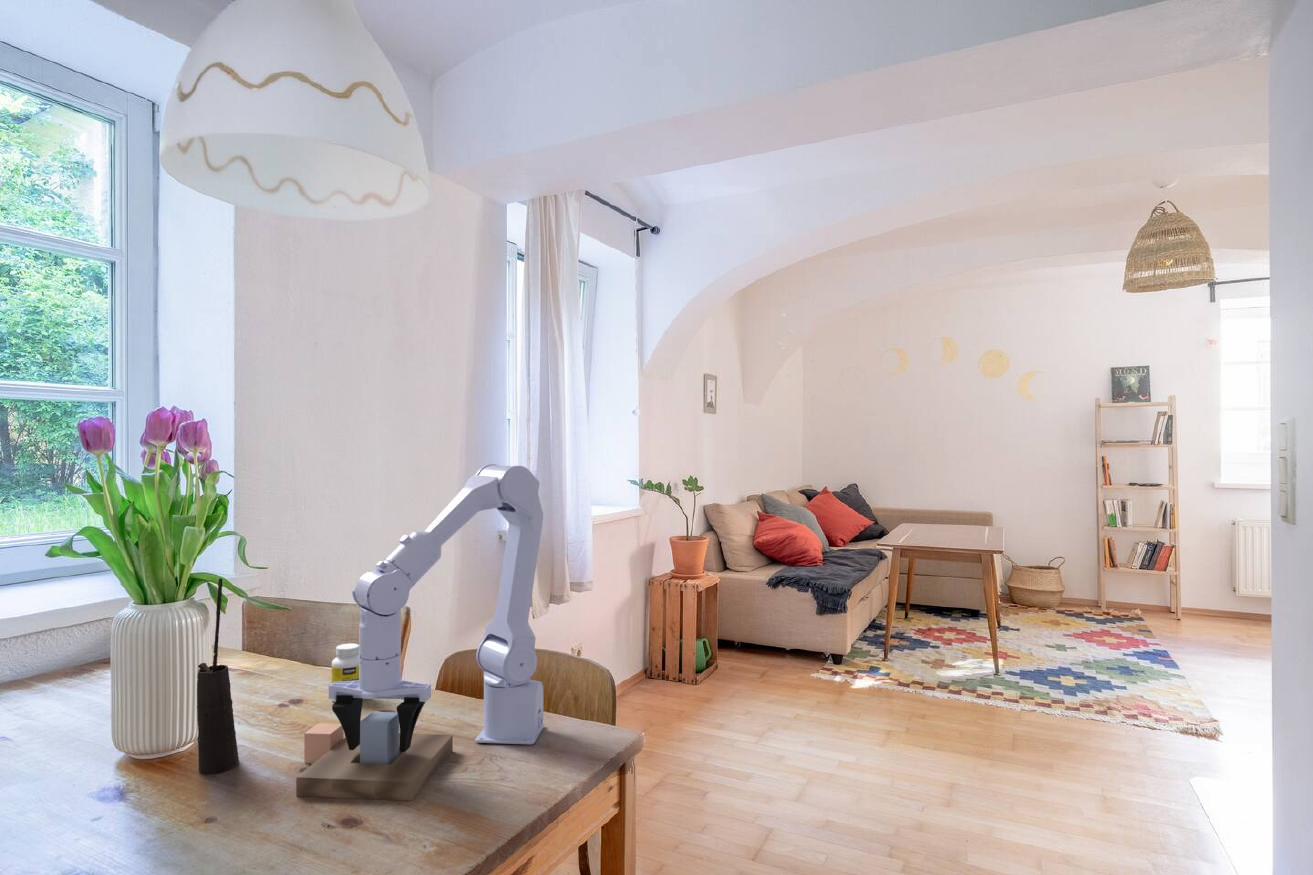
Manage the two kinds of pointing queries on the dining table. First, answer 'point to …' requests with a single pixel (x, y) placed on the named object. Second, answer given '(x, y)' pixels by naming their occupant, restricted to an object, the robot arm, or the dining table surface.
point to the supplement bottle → (345, 664)
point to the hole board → (375, 771)
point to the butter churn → (215, 712)
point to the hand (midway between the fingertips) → (379, 748)
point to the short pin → (321, 740)
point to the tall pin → (379, 738)
